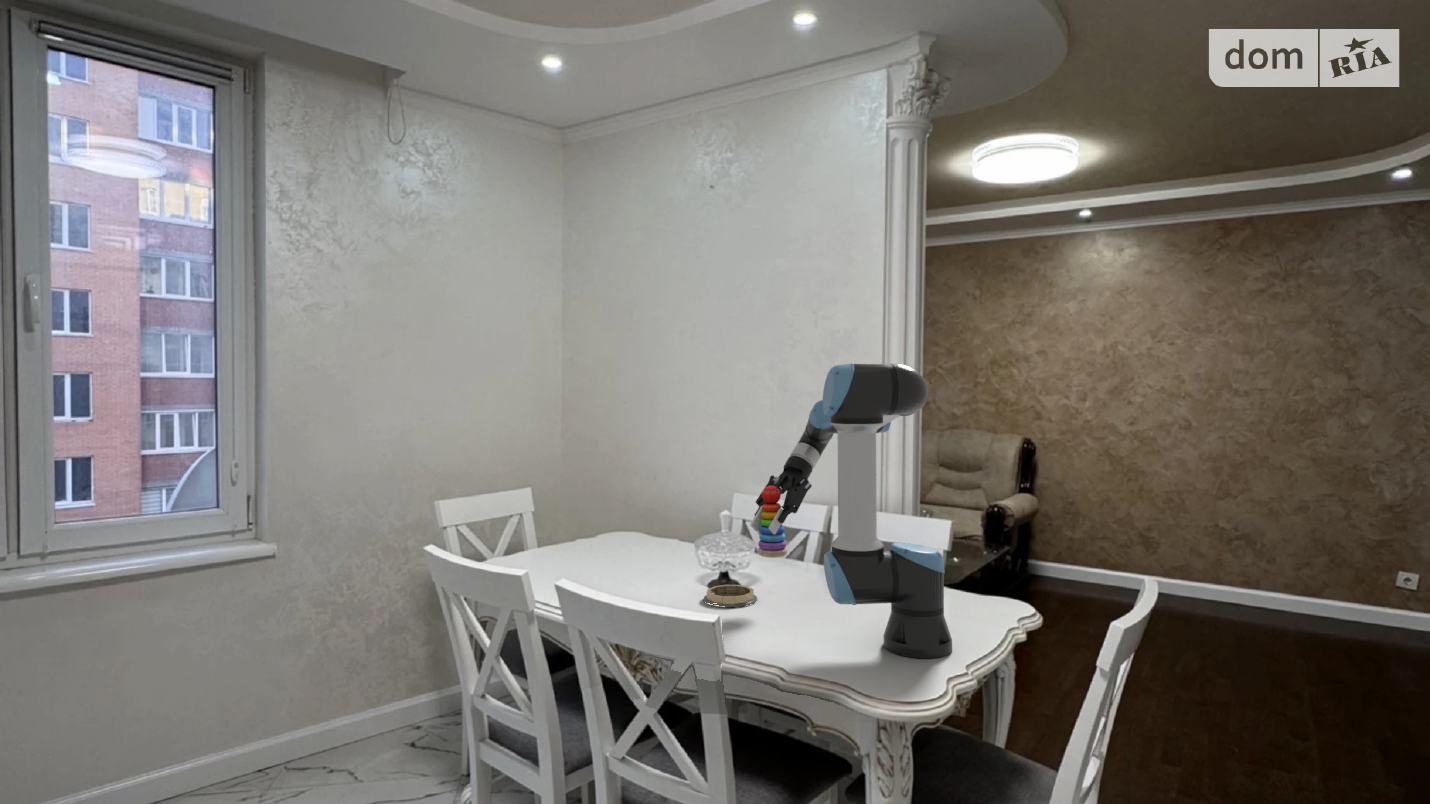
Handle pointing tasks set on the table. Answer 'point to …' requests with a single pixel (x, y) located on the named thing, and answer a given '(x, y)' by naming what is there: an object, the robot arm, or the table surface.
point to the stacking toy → (769, 542)
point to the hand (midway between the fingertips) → (762, 529)
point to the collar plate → (730, 595)
